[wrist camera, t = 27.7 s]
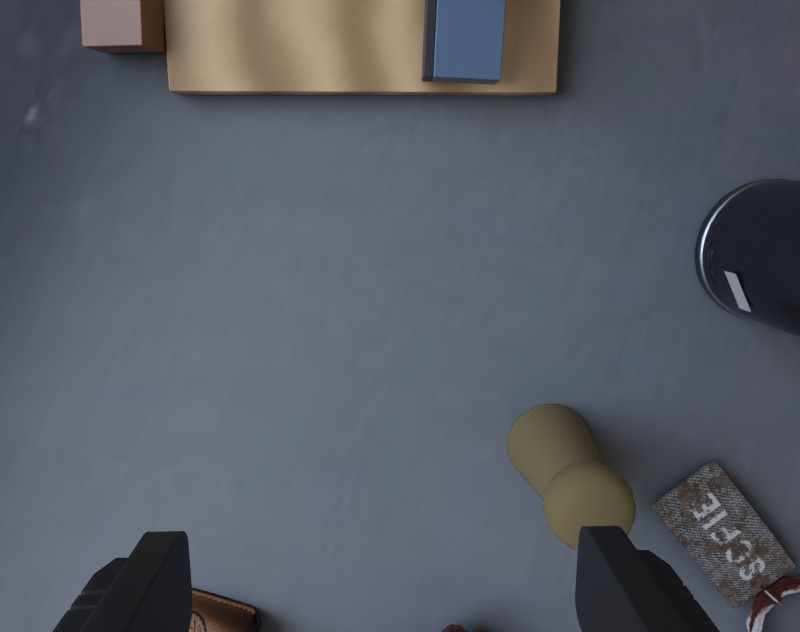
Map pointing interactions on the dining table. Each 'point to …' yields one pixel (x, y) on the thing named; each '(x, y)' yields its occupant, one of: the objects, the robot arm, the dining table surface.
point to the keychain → (728, 541)
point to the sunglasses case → (221, 614)
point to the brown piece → (459, 629)
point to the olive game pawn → (569, 473)
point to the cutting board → (340, 48)
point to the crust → (122, 25)
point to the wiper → (463, 41)
